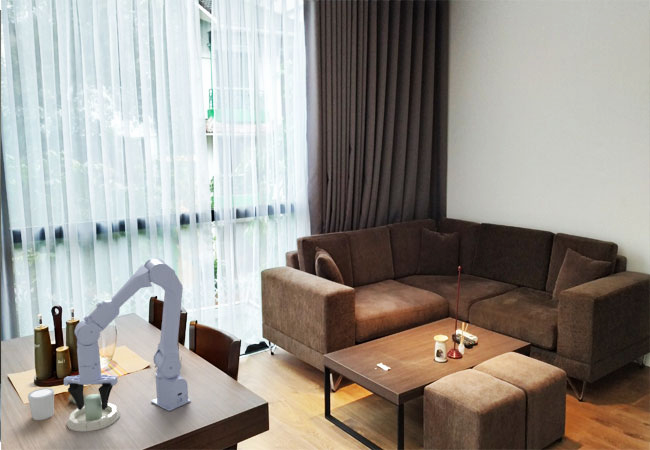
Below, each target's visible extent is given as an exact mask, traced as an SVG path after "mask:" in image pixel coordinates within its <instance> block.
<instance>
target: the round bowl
mask: <svg viewBox="0 0 650 450" xmlns="http://www.w3.org/2000/svg"><path fill="white" fill-rule="evenodd" d="M101 407H102V405H101ZM120 413H121V412H120V410H119V408H117V405H115V404H113V403H111V402H108V405H107V408H106V409H105V410H102V417H101V418H100V419H98V420H95V421H87V420H86V417H85V405H84V407H83V408H82V409H81V410H78V407H77V408H76V409H74V410H73V411H72V412H71V413H69V418H68V419H67V420H66V425H67V427H68V429H69V430H71V431H74V432H79V433H80V432H81V433H87V432H89V433H90V432H94V431H98V430H102V429H105V428H108V427H109V426H112V425H113V424H114V423H116V422H118V421H119V419H120V415H121V414H120Z"/></svg>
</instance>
